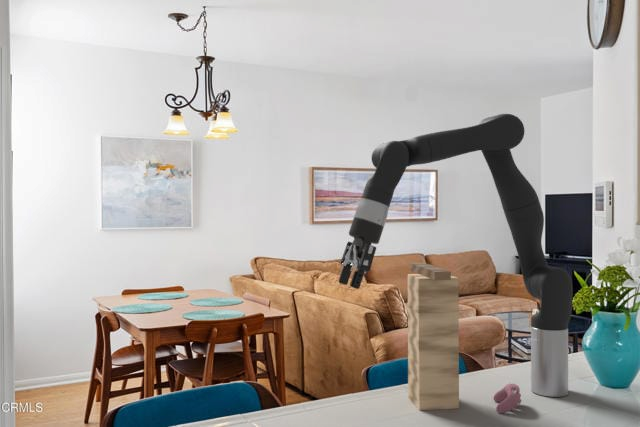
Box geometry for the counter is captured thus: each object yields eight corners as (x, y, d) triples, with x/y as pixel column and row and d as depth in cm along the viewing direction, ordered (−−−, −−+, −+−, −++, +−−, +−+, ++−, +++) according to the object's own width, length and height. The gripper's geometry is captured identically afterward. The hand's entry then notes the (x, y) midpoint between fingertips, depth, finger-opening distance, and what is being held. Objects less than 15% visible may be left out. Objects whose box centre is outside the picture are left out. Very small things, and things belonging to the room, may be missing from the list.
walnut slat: (409, 270, 166) (409, 262, 166) (423, 269, 167) (423, 262, 167) (434, 280, 144) (434, 271, 144) (450, 279, 145) (450, 271, 145)
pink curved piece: (512, 421, 144) (526, 395, 143) (494, 411, 145) (508, 386, 144) (508, 407, 154) (521, 383, 153) (491, 398, 154) (504, 374, 154)
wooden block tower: (407, 397, 157) (407, 274, 157) (445, 395, 159) (445, 273, 158) (419, 410, 147) (418, 278, 147) (459, 408, 149) (458, 277, 148)
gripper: (394, 226, 139) (373, 294, 138) (372, 225, 153) (352, 287, 151) (365, 215, 137) (343, 284, 136) (345, 215, 151) (325, 278, 149)
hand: (348, 285), depth 143 cm, fingers open, 8 cm apart
